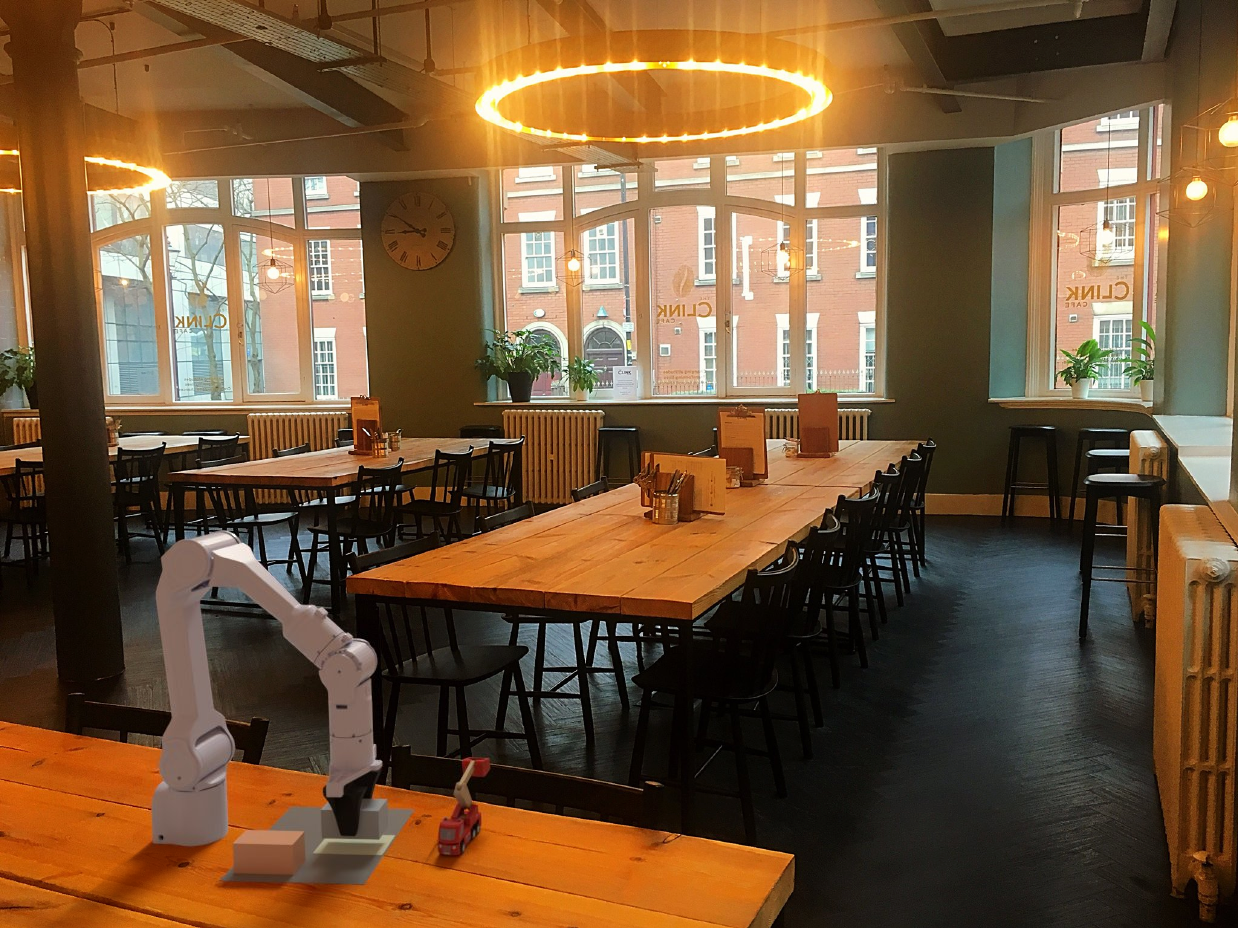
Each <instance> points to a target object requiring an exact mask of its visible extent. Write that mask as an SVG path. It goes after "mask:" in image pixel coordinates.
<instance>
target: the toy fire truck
mask: <svg viewBox="0 0 1238 928" xmlns="http://www.w3.org/2000/svg"><path fill="white" fill-rule="evenodd" d="M461 767H462V774H463V775H462V777H461V779H460V780H459V781H458V782H457V781H456V783H455V788H454V791H453V796H454V798H455V799H456V801H457V803H456V805H455V807H454V810H453V812H452V814H451V815H450V818H448V817H446V816H445V817H444V818H442V819H441V821H440V823H439V826H438V833H437V841H438V842H437V850H438V851H437V852H438V854H442V855H445V856H459V855H460V854H464V853H465V851H466V850H465V849H466V846H467V845H468V843H469V842H470V841H471V840H474V839H475V838H476V835H477V834H479V833H480V828H481V826H482V812H481V811H480V812H479V805H478V804H477V803H474V802H473V800H472V797H471V794H470V791H469V788H468V785H467V784H468V782H469V780H470V778H471V777H478V778H479V777H482V778H484V777H486V776H487V774H488V773H489V771H490V770H491V762H490V758H489V757H472V756H471V757H467V758H466V757H465V758H463V759H462V760H461Z"/></svg>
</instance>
